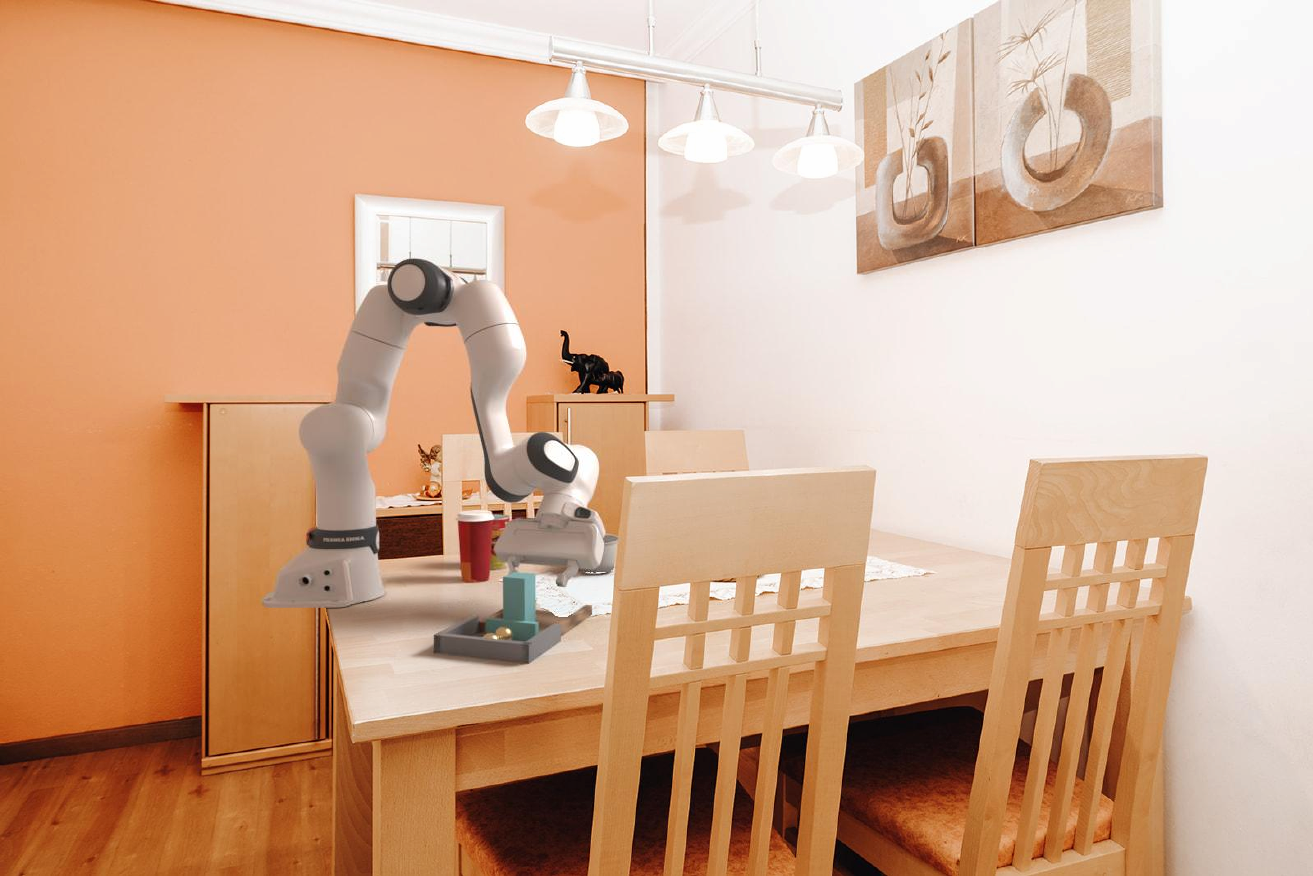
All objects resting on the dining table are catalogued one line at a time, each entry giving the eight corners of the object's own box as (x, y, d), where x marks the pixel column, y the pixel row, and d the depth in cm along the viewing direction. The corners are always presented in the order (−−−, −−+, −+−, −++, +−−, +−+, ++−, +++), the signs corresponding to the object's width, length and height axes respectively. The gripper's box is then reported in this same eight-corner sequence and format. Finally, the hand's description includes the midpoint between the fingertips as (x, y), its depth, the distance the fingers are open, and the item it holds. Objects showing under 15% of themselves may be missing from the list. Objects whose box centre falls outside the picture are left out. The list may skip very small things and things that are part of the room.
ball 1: (488, 656, 122) (479, 654, 119) (483, 638, 123) (475, 636, 120) (505, 649, 121) (497, 646, 119) (500, 631, 123) (491, 628, 120)
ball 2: (500, 649, 125) (492, 646, 122) (497, 631, 126) (489, 628, 124) (517, 644, 125) (509, 641, 122) (514, 625, 126) (507, 622, 123)
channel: (521, 609, 147) (521, 599, 146) (592, 616, 142) (592, 605, 142) (476, 634, 131) (475, 622, 131) (553, 642, 126) (553, 630, 126)
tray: (472, 633, 132) (472, 615, 131) (560, 642, 127) (560, 624, 127) (433, 653, 121) (433, 634, 120) (529, 664, 116) (528, 645, 116)
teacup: (628, 573, 178) (628, 539, 178) (585, 578, 172) (585, 543, 172) (600, 562, 190) (600, 530, 190) (560, 567, 184) (560, 534, 184)
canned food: (475, 564, 188) (475, 515, 187) (508, 562, 190) (508, 514, 189) (476, 570, 180) (476, 519, 180) (510, 569, 182) (510, 518, 181)
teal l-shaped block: (501, 628, 134) (501, 571, 133) (548, 633, 131) (548, 574, 130) (486, 637, 129) (485, 577, 128) (535, 642, 126) (535, 581, 126)
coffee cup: (499, 575, 175) (499, 510, 174) (487, 584, 167) (487, 515, 166) (463, 574, 176) (463, 509, 175) (450, 583, 168) (449, 514, 167)
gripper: (504, 507, 146) (477, 569, 137) (605, 512, 140) (583, 577, 131) (515, 527, 150) (490, 588, 141) (613, 533, 144) (593, 597, 135)
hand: (535, 583), depth 136 cm, fingers open, 8 cm apart
